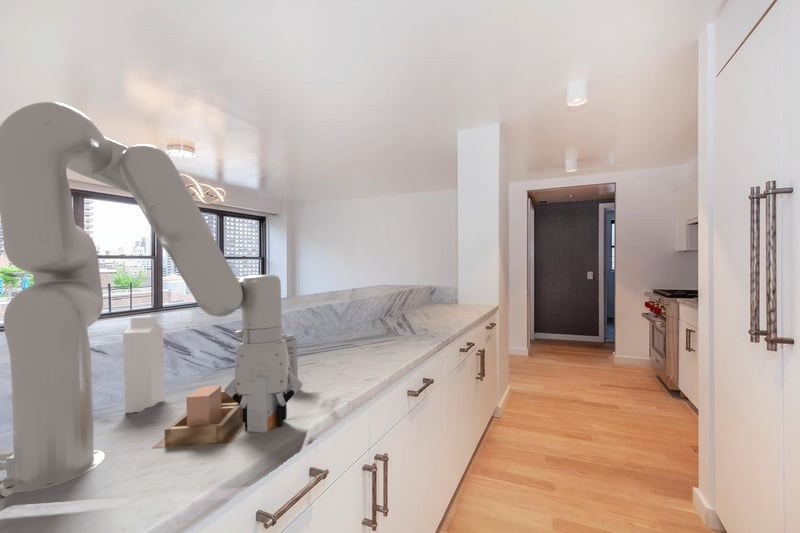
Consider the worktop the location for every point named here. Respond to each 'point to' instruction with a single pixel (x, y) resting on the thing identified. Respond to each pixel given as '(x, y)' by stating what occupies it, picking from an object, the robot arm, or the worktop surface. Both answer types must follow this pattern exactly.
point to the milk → (143, 364)
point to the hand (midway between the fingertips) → (265, 423)
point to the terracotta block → (204, 406)
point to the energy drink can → (291, 355)
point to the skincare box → (261, 407)
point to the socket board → (206, 428)
